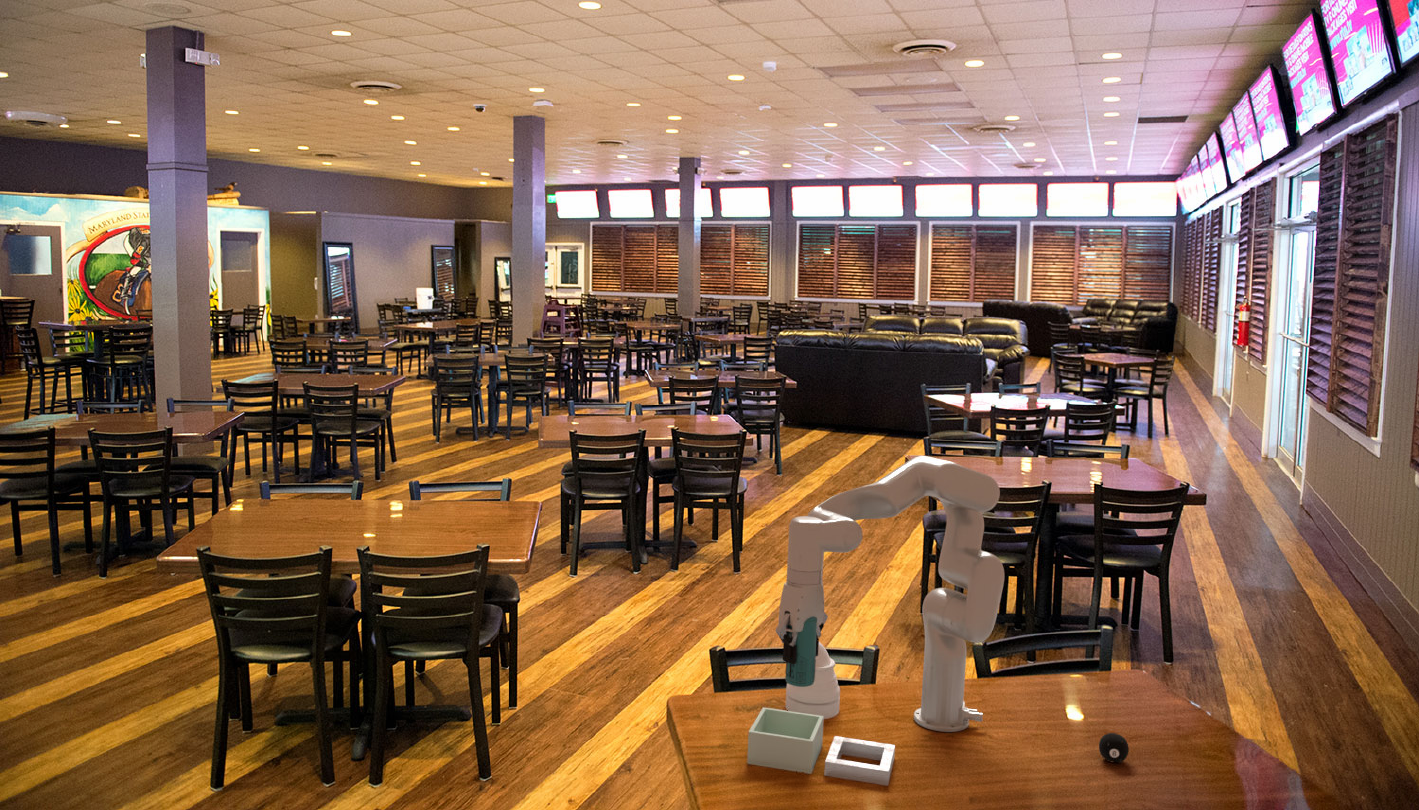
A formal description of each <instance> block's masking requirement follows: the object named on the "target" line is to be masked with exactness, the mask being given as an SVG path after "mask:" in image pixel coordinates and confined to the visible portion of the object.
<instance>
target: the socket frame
mask: <svg viewBox="0 0 1419 810" xmlns="http://www.w3.org/2000/svg"><path fill="white" fill-rule="evenodd" d="M895 754H896V745H895V744H891V743H883V742H877V741H870V740H864V739H863V740H862V739H858V738H851V737H844V736H843V737H842V736H838V735H834V737H833V740H832V742H831V744H830V747H829V751H828V753H827V756H826V758H825V761H824V774H823V775H824V776H826V777H833V778H839V779H844V780H850V781H856V782H857V781H858V782H863V783H869V784H876V785H881V786H886V787H887V786H889V783H890V779H891V774H892V770H893V766H894V761H895ZM842 755H843V756H850V757H854V758H855V757H856V758H863V759H869V760H875V761H880V764H879V765H877V764H870V763H864V762H857V761H852V760H846V759H842Z"/></svg>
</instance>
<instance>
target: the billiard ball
mask: <svg viewBox="0 0 1419 810" xmlns="http://www.w3.org/2000/svg"><path fill="white" fill-rule="evenodd" d="M1098 750H1099V753H1100V755H1101V756H1102V758H1103V759H1104V758H1105V759H1104V760H1106V761H1107V760H1109V761H1108V762H1110V761H1113V762H1118V763H1122V762H1125V760H1126V758H1127V757H1128V755H1129V750H1130V747H1129V744H1128V741H1127V740H1126V738H1125V737H1124V736H1122V735H1120V734H1119V733H1116V732H1115V733H1114V732H1113V733H1112V732H1111V733H1110V732H1108V733H1106V734H1104V735H1103V736H1102V737H1100V740H1099V744H1098ZM1113 762H1112V763H1113Z"/></svg>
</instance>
